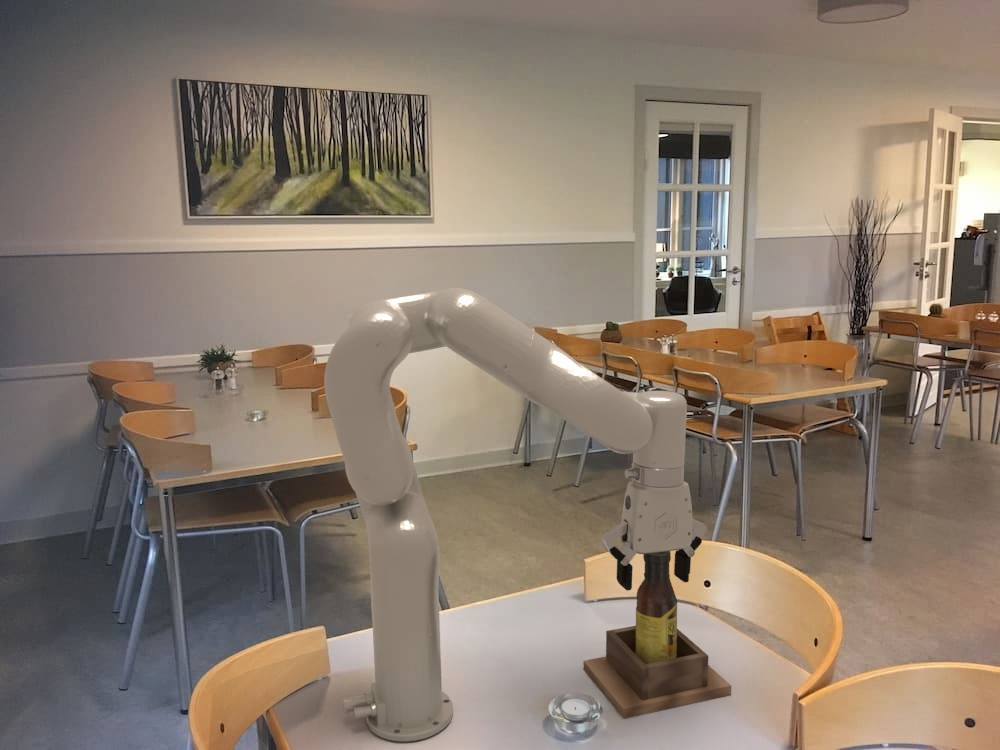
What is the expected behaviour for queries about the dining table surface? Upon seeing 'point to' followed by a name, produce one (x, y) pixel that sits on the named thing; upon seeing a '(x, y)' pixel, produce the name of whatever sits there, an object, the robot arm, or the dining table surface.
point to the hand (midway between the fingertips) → (653, 582)
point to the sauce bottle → (656, 611)
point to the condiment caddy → (653, 676)
